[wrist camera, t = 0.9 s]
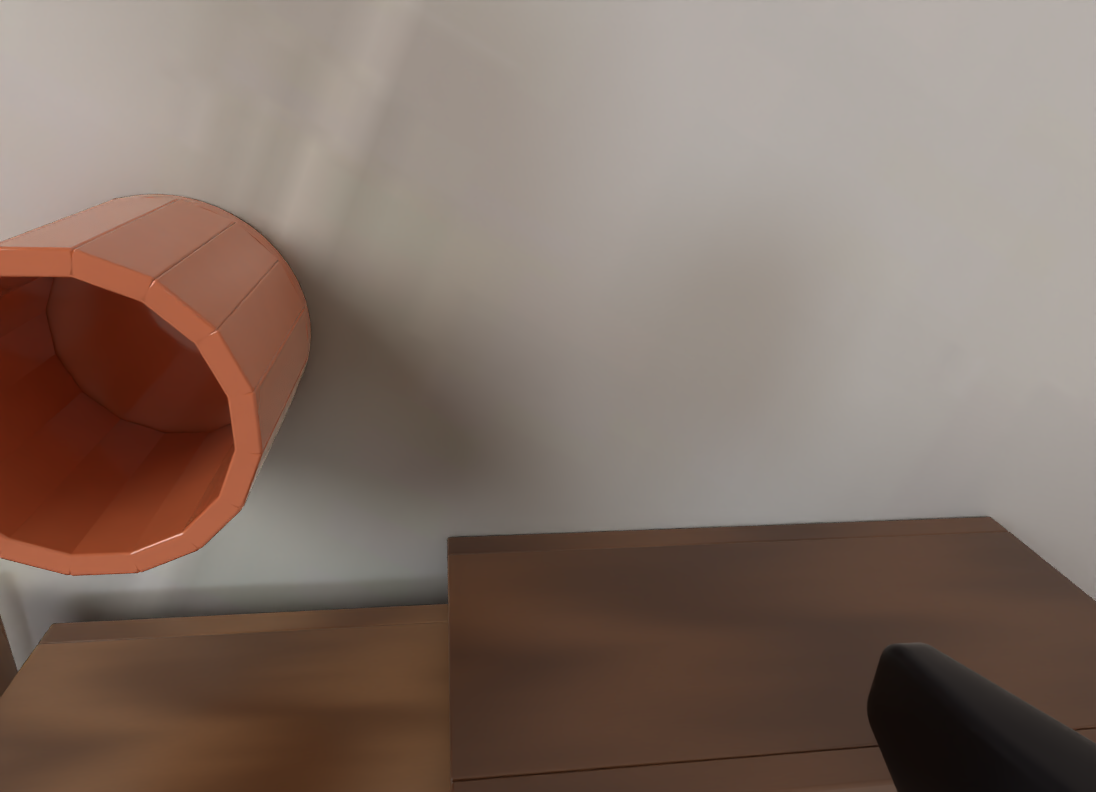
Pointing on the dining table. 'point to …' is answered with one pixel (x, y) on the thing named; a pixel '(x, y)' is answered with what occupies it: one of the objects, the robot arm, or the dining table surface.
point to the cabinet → (736, 650)
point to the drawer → (232, 704)
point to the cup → (139, 380)
